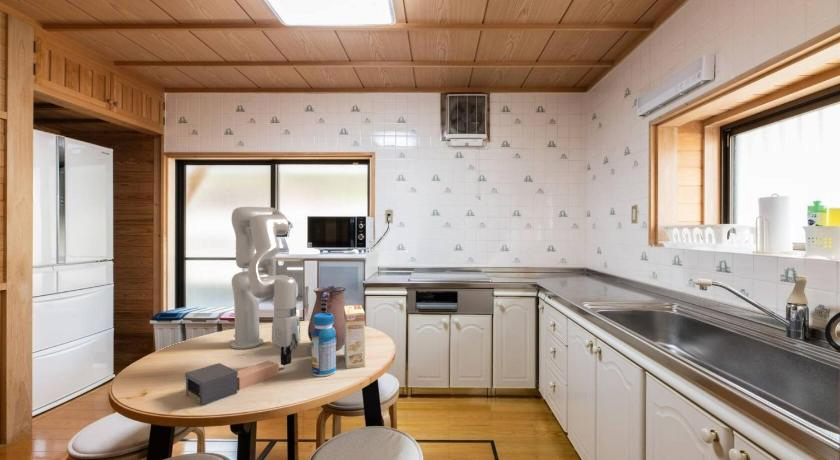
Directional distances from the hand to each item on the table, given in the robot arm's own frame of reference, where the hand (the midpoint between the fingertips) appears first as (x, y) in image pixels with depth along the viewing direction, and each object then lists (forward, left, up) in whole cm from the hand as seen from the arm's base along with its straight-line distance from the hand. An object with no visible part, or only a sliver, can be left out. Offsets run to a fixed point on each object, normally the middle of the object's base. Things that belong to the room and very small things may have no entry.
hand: (286, 363), depth 133 cm
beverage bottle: (+14, +6, -2) cm, 15 cm away
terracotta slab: (0, -12, -2) cm, 12 cm away
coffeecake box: (+14, +20, -2) cm, 24 cm away
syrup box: (-24, +18, -2) cm, 30 cm away
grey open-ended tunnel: (0, -24, -2) cm, 24 cm away
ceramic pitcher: (-4, +23, -2) cm, 23 cm away
